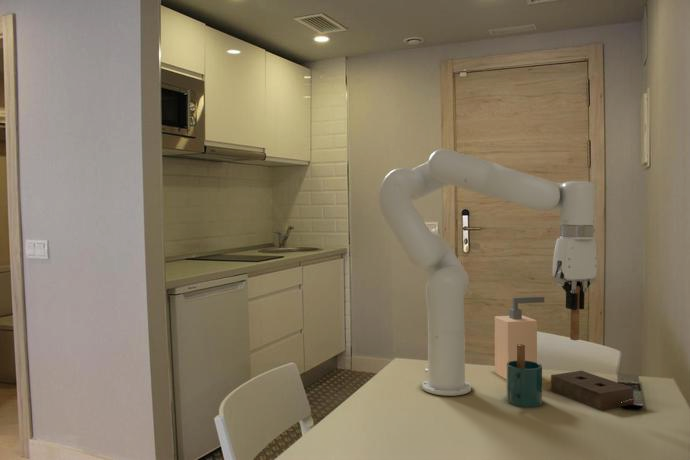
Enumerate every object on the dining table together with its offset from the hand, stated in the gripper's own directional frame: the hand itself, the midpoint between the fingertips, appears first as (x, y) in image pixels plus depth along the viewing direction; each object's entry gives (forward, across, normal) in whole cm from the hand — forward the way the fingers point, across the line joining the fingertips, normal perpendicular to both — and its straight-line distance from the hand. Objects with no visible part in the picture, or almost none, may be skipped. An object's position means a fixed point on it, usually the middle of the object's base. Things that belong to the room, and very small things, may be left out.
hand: (574, 308), depth 139 cm
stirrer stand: (+23, -6, -1) cm, 23 cm away
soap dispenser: (+23, -4, -23) cm, 33 cm away
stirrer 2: (+8, 0, 0) cm, 8 cm away
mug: (+23, +12, -4) cm, 26 cm away
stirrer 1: (+22, +11, -6) cm, 25 cm away
